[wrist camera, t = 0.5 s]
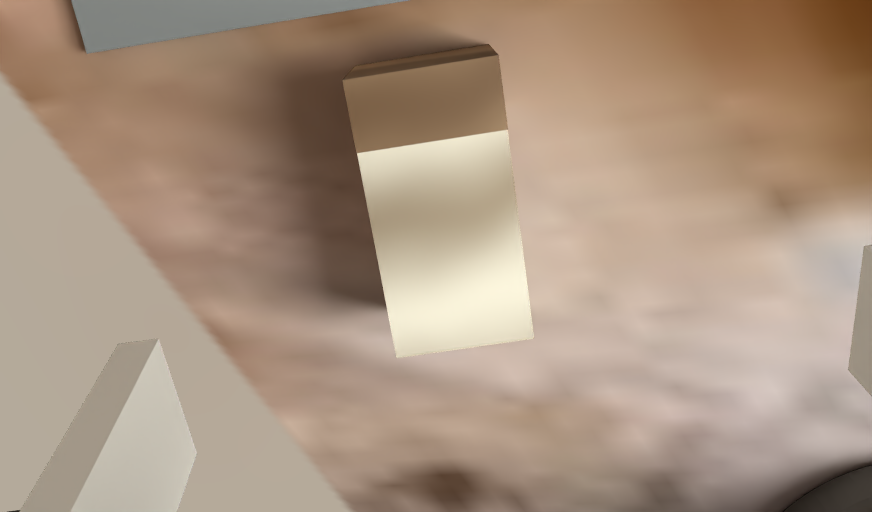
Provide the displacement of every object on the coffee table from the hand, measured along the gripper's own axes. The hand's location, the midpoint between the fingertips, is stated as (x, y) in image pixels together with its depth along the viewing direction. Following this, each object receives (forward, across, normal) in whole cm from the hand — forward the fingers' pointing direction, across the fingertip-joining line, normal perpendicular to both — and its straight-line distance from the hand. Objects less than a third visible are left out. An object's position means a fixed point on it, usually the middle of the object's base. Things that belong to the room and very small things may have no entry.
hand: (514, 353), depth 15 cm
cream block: (+16, +1, +3) cm, 17 cm away
